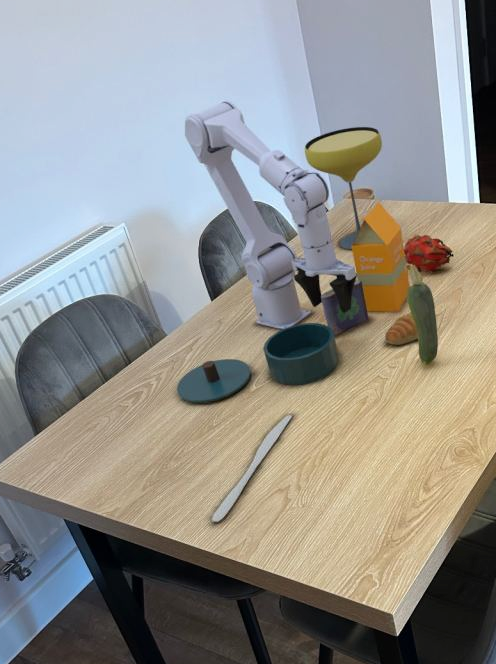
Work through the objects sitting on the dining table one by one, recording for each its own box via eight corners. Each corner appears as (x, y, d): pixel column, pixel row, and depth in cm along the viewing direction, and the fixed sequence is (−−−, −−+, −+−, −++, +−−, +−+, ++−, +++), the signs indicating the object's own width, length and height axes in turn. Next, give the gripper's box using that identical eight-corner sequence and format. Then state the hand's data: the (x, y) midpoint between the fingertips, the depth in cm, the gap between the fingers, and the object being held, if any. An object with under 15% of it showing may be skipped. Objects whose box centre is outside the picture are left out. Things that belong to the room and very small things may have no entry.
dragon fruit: (404, 272, 174) (453, 282, 169) (390, 265, 166) (441, 275, 161) (414, 235, 172) (463, 244, 168) (400, 226, 165) (451, 236, 160)
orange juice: (363, 311, 158) (345, 220, 147) (377, 291, 165) (361, 202, 153) (398, 311, 155) (382, 218, 144) (411, 291, 161) (397, 200, 150)
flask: (333, 338, 151) (322, 290, 145) (326, 334, 153) (314, 286, 147) (371, 321, 154) (362, 272, 148) (364, 316, 156) (354, 268, 150)
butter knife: (203, 518, 112) (220, 520, 111) (281, 414, 132) (296, 414, 130) (205, 521, 113) (221, 523, 111) (282, 417, 132) (297, 417, 131)
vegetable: (445, 359, 137) (431, 256, 125) (439, 372, 134) (424, 268, 122) (421, 359, 138) (405, 257, 127) (415, 372, 135) (398, 269, 124)
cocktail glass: (311, 248, 192) (288, 149, 177) (361, 221, 200) (343, 124, 186) (360, 261, 180) (339, 155, 165) (411, 231, 188) (396, 128, 174)
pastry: (401, 351, 142) (398, 333, 140) (377, 342, 147) (374, 324, 145) (436, 329, 146) (434, 312, 144) (412, 321, 151) (410, 304, 149)
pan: (256, 376, 145) (249, 351, 142) (302, 342, 152) (295, 318, 149) (307, 391, 137) (300, 365, 134) (353, 354, 144) (347, 329, 141)
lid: (163, 395, 146) (156, 375, 143) (217, 358, 154) (210, 338, 151) (212, 412, 137) (205, 392, 135) (266, 372, 145) (260, 352, 143)
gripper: (275, 246, 142) (291, 310, 150) (332, 255, 134) (347, 322, 141) (299, 231, 146) (314, 294, 154) (357, 239, 137) (370, 305, 145)
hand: (331, 307), depth 148 cm, fingers open, 7 cm apart
